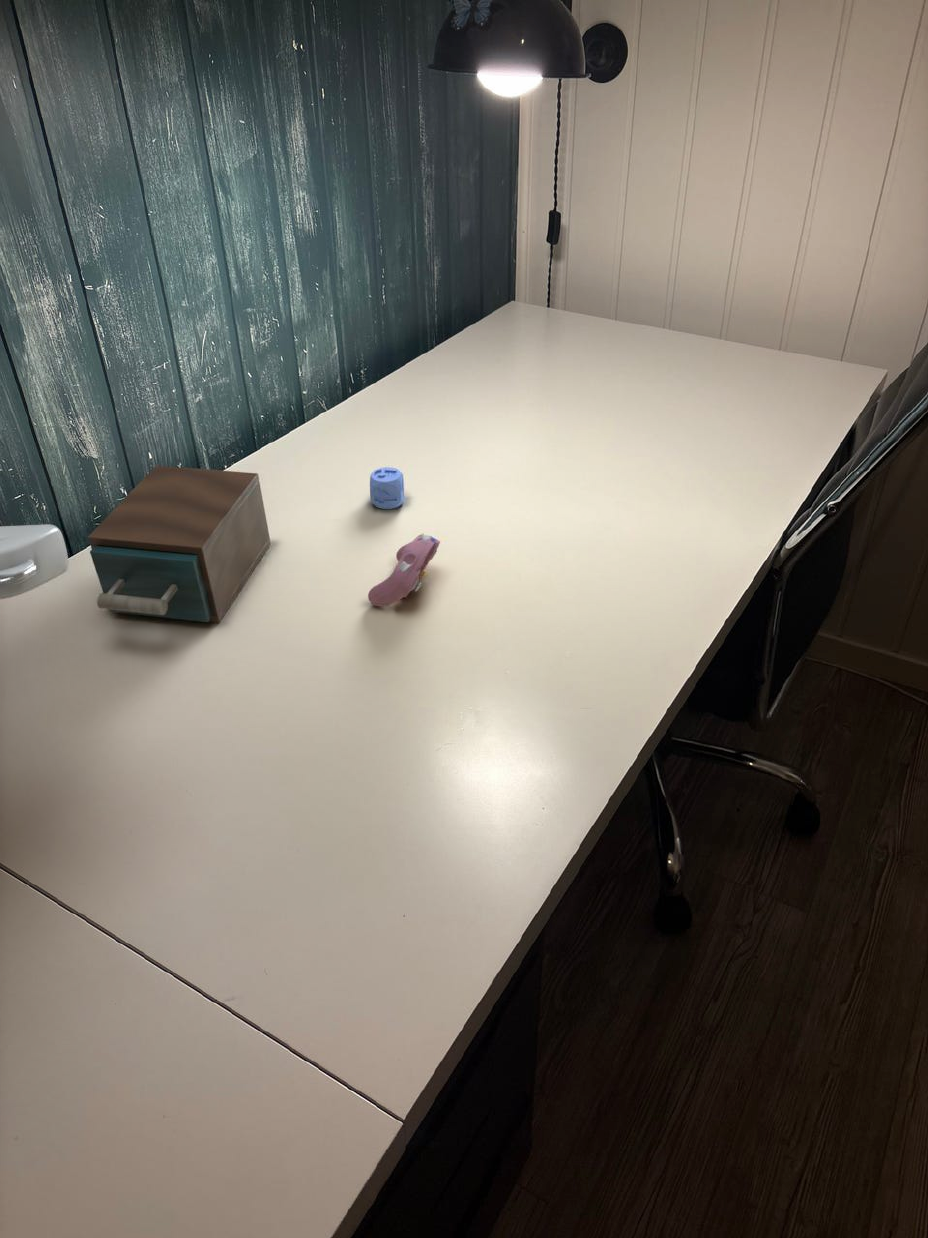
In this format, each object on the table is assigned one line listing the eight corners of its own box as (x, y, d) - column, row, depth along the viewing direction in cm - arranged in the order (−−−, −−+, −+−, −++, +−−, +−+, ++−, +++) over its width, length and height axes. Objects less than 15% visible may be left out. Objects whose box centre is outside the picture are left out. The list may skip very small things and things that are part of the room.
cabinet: (219, 623, 100) (201, 547, 94) (111, 611, 102) (87, 537, 96) (271, 544, 112) (258, 473, 106) (173, 535, 114) (155, 465, 108)
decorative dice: (402, 509, 118) (400, 481, 115) (371, 509, 118) (368, 482, 115) (404, 493, 121) (402, 466, 118) (374, 493, 121) (371, 466, 118)
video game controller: (398, 624, 101) (421, 582, 97) (362, 602, 101) (384, 560, 96) (429, 574, 109) (452, 534, 104) (396, 554, 108) (418, 513, 104)
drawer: (190, 648, 95) (174, 586, 90) (88, 636, 97) (67, 575, 92) (258, 548, 109) (246, 490, 105) (168, 539, 111) (153, 482, 107)
